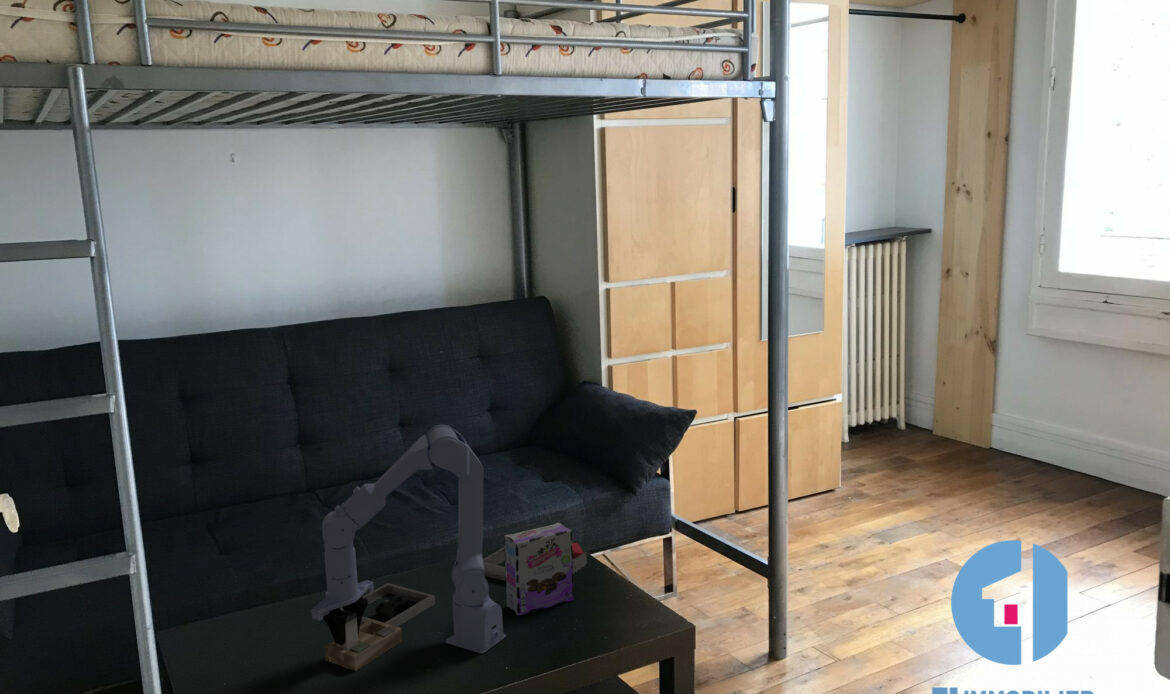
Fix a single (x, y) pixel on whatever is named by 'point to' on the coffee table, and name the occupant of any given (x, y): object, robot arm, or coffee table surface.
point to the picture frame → (423, 598)
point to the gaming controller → (393, 606)
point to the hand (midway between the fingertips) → (346, 639)
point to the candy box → (538, 568)
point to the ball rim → (499, 571)
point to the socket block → (365, 645)
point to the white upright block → (350, 631)
